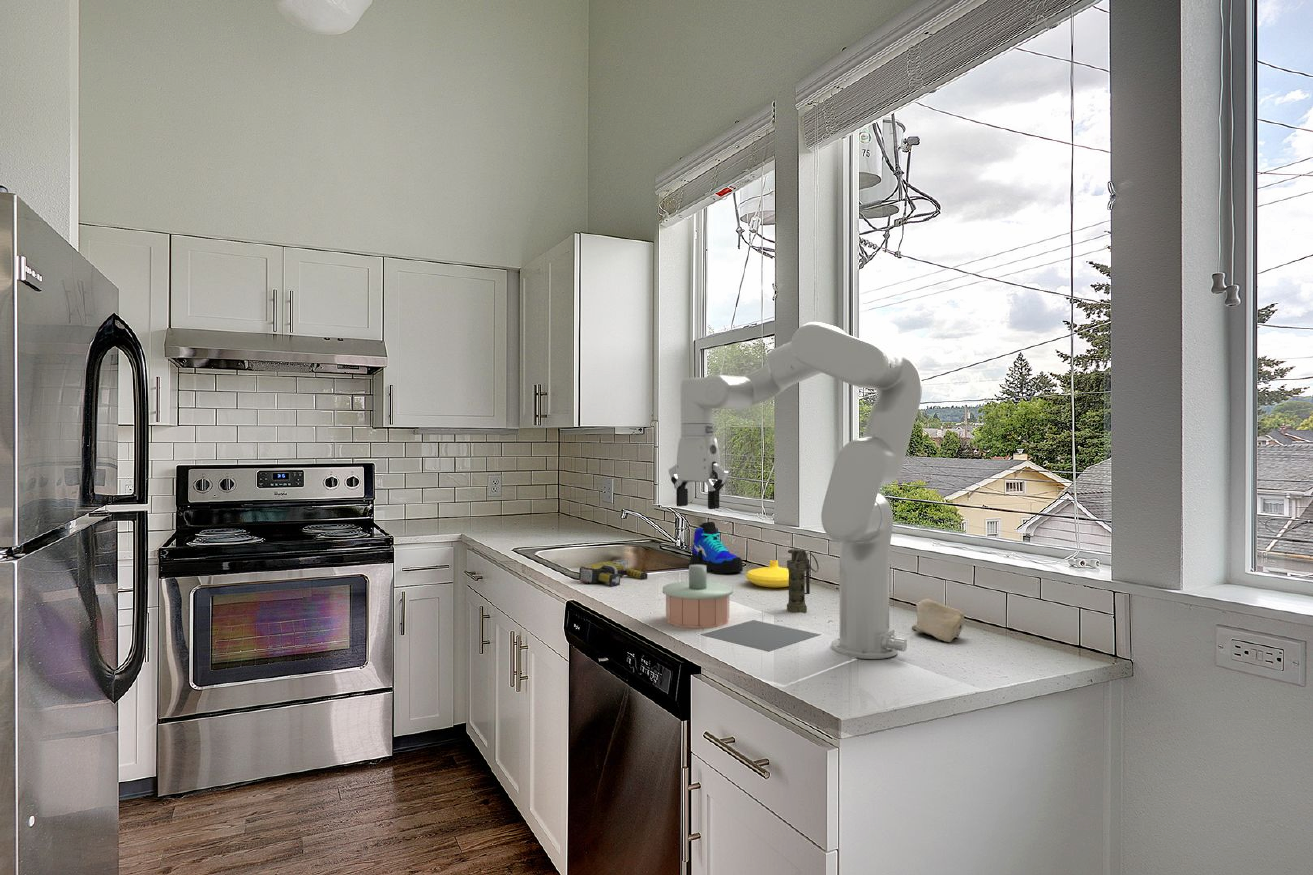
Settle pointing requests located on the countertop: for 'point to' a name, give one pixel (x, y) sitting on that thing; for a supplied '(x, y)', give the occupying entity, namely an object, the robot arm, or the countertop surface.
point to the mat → (760, 635)
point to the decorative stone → (938, 620)
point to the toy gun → (608, 572)
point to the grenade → (798, 580)
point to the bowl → (697, 612)
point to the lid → (697, 586)
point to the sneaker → (713, 551)
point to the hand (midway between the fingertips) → (697, 507)
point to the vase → (769, 576)
